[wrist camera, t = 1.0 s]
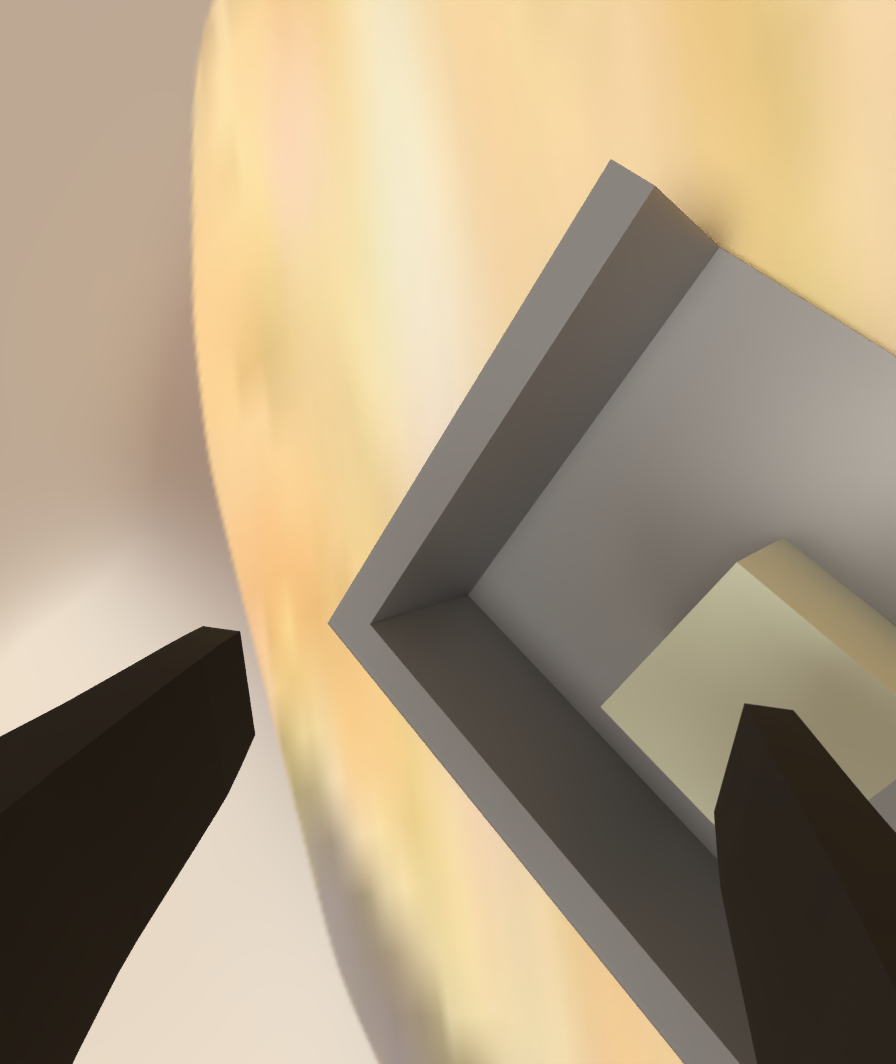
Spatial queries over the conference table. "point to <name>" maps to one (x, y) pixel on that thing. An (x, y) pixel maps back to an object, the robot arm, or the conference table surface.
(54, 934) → the robot arm
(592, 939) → the open box
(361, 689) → the conference table surface
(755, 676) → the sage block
